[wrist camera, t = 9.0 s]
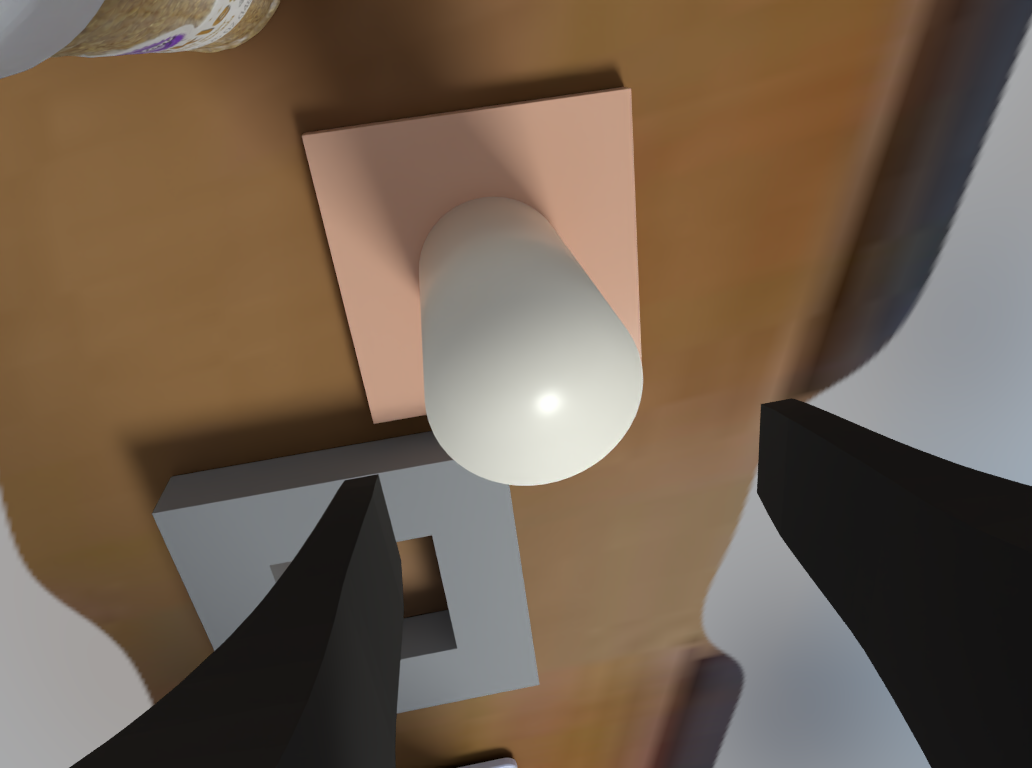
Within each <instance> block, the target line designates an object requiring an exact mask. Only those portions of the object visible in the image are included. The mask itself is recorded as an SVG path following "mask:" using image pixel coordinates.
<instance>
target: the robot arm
mask: <svg viewBox="0 0 1032 768" xmlns="http://www.w3.org/2000/svg"><path fill="white" fill-rule="evenodd" d="M757 493H758V495H759V497H760V499H761V501H762V503H763V505H764V507H765V509H766V511H767V513H768V515H769V516H770V518H771V520H772V522H773V523H774V525H775V527H776V529H777V531H778V532H779V534H780V536H781V537H782V538H783V540H784V542H785V543H786V544H787V546H788V547H789V548H790V550H791V551H792V552H793V554H794V555H795V557H796V558H797V559H798V561H799V562H800V564H801V565H802V566H803V568H804V569H805V570H806V572H807V573H808V574H809V576H810V577H811V578H812V580H813V581H814V582H815V584H816V585H817V586H818V588H819V589H820V590H821V592H822V593H823V594H824V596H825V597H826V598H827V600H828V601H829V602H830V604H831V605H832V606H833V608H834V609H835V610H836V612H837V613H838V614H839V616H840V617H841V618H842V620H843V621H844V622H845V624H846V625H847V626H848V628H849V629H850V630H851V632H852V633H853V635H854V636H855V638H856V639H857V640H858V642H859V643H860V645H861V646H862V648H863V649H864V651H865V652H866V654H867V656H868V657H869V659H870V661H871V662H872V664H873V665H874V667H875V669H876V670H877V672H878V674H879V676H880V677H881V679H882V681H883V682H884V684H885V686H886V687H887V689H888V691H889V692H890V694H891V696H892V698H893V699H894V701H895V703H896V705H897V706H898V708H899V710H900V712H901V713H902V715H903V717H904V719H905V721H906V722H907V724H908V726H909V728H910V729H911V731H912V733H913V735H914V737H915V738H916V740H917V742H918V744H919V745H920V747H921V749H922V751H923V753H924V755H925V756H926V758H927V760H928V762H929V764H930V766H931V768H1032V486H1029V485H1025V484H1021V483H1018V482H1014V481H1011V480H1008V479H1004V478H1001V477H997V476H994V475H991V474H987V473H984V472H980V471H977V470H974V469H971V468H968V467H965V466H962V465H959V464H956V463H953V462H951V461H948V460H945V459H942V458H940V457H937V456H934V455H931V454H929V453H926V452H923V451H920V450H918V449H915V448H912V447H910V446H908V445H905V444H903V443H900V442H898V441H895V440H893V439H890V438H888V437H886V436H883V435H881V434H878V433H876V432H873V431H871V430H869V429H867V428H864V427H862V426H860V425H857V424H855V423H853V422H850V421H848V420H846V419H843V418H841V417H839V416H836V415H834V414H831V413H829V412H827V411H824V410H822V409H820V408H817V407H815V406H812V405H810V404H807V403H804V402H802V401H799V400H796V399H787V400H781V401H776V402H770V403H765V404H761V417H760V439H759V462H758V484H757ZM403 615H404V604H403V584H402V568H401V559H400V555H399V551H398V547H397V543H396V540H395V536H394V532H393V528H392V524H391V520H390V517H389V513H388V509H387V505H386V501H385V498H384V494H383V490H382V486H381V482H380V478H379V475H378V474H376V475H371V476H365V477H360V478H355V479H349V480H345V481H344V482H343V483H342V485H341V486H340V488H339V489H338V491H337V492H336V494H335V496H334V497H333V499H332V501H331V502H330V504H329V505H328V507H327V509H326V510H325V512H324V514H323V515H322V517H321V518H320V520H319V522H318V523H317V525H316V526H315V528H314V529H313V531H312V532H311V534H310V535H309V537H308V538H307V540H306V541H305V543H304V544H303V546H302V547H301V549H300V550H299V552H298V553H297V555H296V556H295V558H294V559H293V560H292V562H291V563H290V565H289V566H288V567H287V569H286V570H285V571H284V573H283V574H282V575H281V577H280V578H279V579H278V580H277V582H276V583H275V584H274V586H273V587H272V588H271V590H270V591H269V592H268V594H267V595H266V596H265V597H264V599H263V600H262V601H261V602H260V603H259V605H258V606H257V607H256V608H255V609H254V610H253V612H252V613H251V614H250V615H249V616H248V617H247V618H246V619H245V620H244V621H243V622H242V624H241V625H240V626H239V627H238V628H237V629H236V630H235V631H234V632H233V633H232V634H231V635H230V636H229V637H228V638H227V639H226V640H225V642H224V643H222V644H221V645H220V646H219V647H218V648H217V649H216V650H215V651H214V652H213V653H212V654H211V655H210V656H209V657H208V658H207V659H205V660H204V661H203V662H202V663H201V664H200V665H199V666H198V667H197V668H196V669H195V670H194V671H193V672H192V673H191V674H190V675H188V676H187V677H186V678H185V679H184V680H183V681H182V682H181V683H180V684H179V685H177V686H176V687H175V688H174V689H173V690H171V691H170V692H169V693H168V694H167V695H166V696H164V697H163V698H162V699H161V700H160V701H158V702H157V703H156V704H155V705H154V706H152V707H151V708H150V709H149V710H147V711H146V712H145V713H144V714H142V715H141V716H140V717H138V718H137V719H136V720H135V721H133V722H132V723H131V724H130V725H128V726H127V727H126V728H124V729H123V730H122V731H120V732H119V733H118V734H116V735H115V736H114V737H112V738H111V739H110V740H108V741H107V742H106V743H104V744H103V745H101V746H100V747H98V748H97V749H95V750H94V751H93V752H91V753H90V754H88V755H87V756H85V757H84V758H83V759H81V760H80V761H78V762H77V763H75V764H74V765H73V766H71V767H70V768H396V764H395V737H396V715H397V701H398V687H399V674H400V660H401V646H402V631H403ZM458 768H517V763H516V761H515V760H514V759H512V758H501V759H496V760H492V761H487V762H482V763H477V764H473V765H468V766H463V767H458Z"/></svg>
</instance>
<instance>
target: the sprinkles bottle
mask: <svg viewBox="0 0 1032 768" xmlns="http://www.w3.org/2000/svg"><path fill="white" fill-rule="evenodd" d="M279 3H280V0H0V79H1V78H4V77H7V76H10V75H14V74H17V73H20V72H23V71H26V70H28V69H30V68H33V67H34V66H36V65H38V64H39V63H41V62H43V61H44V60H46V59H48V58H49V57H61V56H80V57H88V58H90V57H104V56H118V55H127V54H143V53H169V52H179V51H197V52H206V53H211V52H218V51H221V50H225V49H230V48H235V47H237V46H239V45H241V44H243V43H245V42H246V41H248V40H250V39H251V38H252V37H253V36H255V35H256V34H258V33H259V32H260V31H261V30H262V29H263V27H264V26H265V25H266V24H267V23H268V21H269V20H270V18H271V17H272V16H273V14H274V13H275V11H276V9H277V8H278V6H279Z"/></svg>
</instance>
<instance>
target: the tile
mask: <svg viewBox="0 0 1032 768" xmlns="http://www.w3.org/2000/svg"><path fill="white" fill-rule="evenodd" d="M302 139H303V143H304V147H305V151H306V155H307V159H308V163H309V167H310V171H311V175H312V179H313V183H314V187H315V191H316V195H317V199H318V203H319V207H320V211H321V215H322V219H323V223H324V227H325V231H326V235H327V239H328V243H329V247H330V251H331V255H332V259H333V263H334V267H335V271H336V275H337V279H338V283H339V287H340V291H341V295H342V299H343V303H344V307H345V311H346V315H347V319H348V323H349V327H350V331H351V335H352V339H353V343H354V347H355V351H356V355H357V359H358V363H359V367H360V371H361V375H362V379H363V383H364V387H365V391H366V395H367V399H368V403H369V407H370V411H371V415H372V419H373V423H374V424H376V423H382V422H387V421H393V420H399V419H405V418H411V417H416V416H422V415H427V413H426V407H425V396H424V374H423V352H422V331H421V309H420V288H419V260H420V254H421V250H422V247H423V244H424V242H425V240H426V238H427V236H428V234H429V232H430V231H431V229H432V228H433V226H434V225H435V224H436V223H437V222H438V221H439V219H440V218H442V217H443V216H444V215H445V214H446V213H447V212H449V211H450V210H452V209H453V208H455V207H456V206H458V205H460V204H462V203H464V202H467V201H470V200H473V199H477V198H482V197H505V198H510V199H514V200H517V201H520V202H523V203H525V204H527V205H529V206H531V207H532V208H534V209H535V210H537V211H538V212H539V213H541V214H542V215H543V216H544V217H545V218H546V219H547V220H548V222H549V223H550V224H551V225H552V227H553V228H554V229H555V231H556V232H557V233H558V235H559V236H560V238H561V239H562V240H563V242H564V243H565V244H566V246H567V247H568V249H569V250H570V251H571V253H572V254H573V255H574V257H575V258H576V260H577V261H578V262H579V264H580V265H581V267H582V268H583V269H584V271H585V272H586V273H587V275H588V276H589V278H590V279H591V280H592V282H593V283H594V284H595V286H596V287H597V289H598V290H599V291H600V293H601V294H602V296H603V297H604V298H605V300H606V301H607V302H608V304H609V305H610V307H611V308H612V309H613V311H614V312H615V313H616V315H617V316H618V318H619V319H620V320H621V322H622V323H623V325H624V326H625V327H626V329H627V330H628V332H629V333H630V335H631V337H632V338H633V340H634V342H635V344H636V347H637V349H638V352H639V355H640V359H641V334H640V309H639V283H638V257H637V231H636V205H635V179H634V154H633V128H632V102H631V88H628V87H620V88H613V89H606V90H599V91H592V92H585V93H578V94H571V95H564V96H557V97H550V98H543V99H536V100H529V101H522V102H515V103H508V104H501V105H494V106H487V107H481V108H474V109H467V110H460V111H453V112H446V113H439V114H432V115H425V116H418V117H411V118H404V119H397V120H390V121H383V122H376V123H369V124H362V125H355V126H348V127H341V128H334V129H327V130H320V131H313V132H307V133H304V134H303V135H302ZM641 364H642V360H641Z"/></svg>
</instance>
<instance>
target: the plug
mask: <svg viewBox="0 0 1032 768" xmlns="http://www.w3.org/2000/svg"><path fill="white" fill-rule="evenodd" d="M419 288H420V309H421V331H422V352H423V374H424V396H425V407H426V413H427V417H428V421H429V424H430V427H431V429H432V431H433V434H434V436H435V437H436V439H437V440H438V442H439V444H440V445H441V447H442V448H443V449H444V450H445V451H446V453H447V454H448V455H449V456H450V457H451V458H452V459H453V460H454V461H456V462H457V463H458V464H459V465H461V466H462V467H464V468H465V469H466V470H468V471H470V472H472V473H474V474H476V475H478V476H479V477H482V478H485V479H488V480H490V481H494V482H498V483H502V484H509V485H517V486H532V485H541V484H547V483H552V482H557V481H560V480H563V479H566V478H569V477H571V476H574V475H576V474H578V473H580V472H582V471H584V470H586V469H588V468H589V467H591V466H593V465H594V464H596V463H597V462H598V461H600V460H601V459H602V458H604V457H605V456H606V455H607V454H608V453H609V452H610V451H611V450H612V449H613V448H614V447H615V446H616V445H617V444H618V443H619V441H620V440H621V439H622V438H623V436H624V435H625V433H626V432H627V430H628V429H629V427H630V426H631V424H632V422H633V420H634V418H635V416H636V413H637V410H638V407H639V404H640V400H641V395H642V388H643V372H642V364H641V359H640V355H639V352H638V349H637V347H636V344H635V342H634V340H633V338H632V337H631V335H630V333H629V332H628V330H627V329H626V327H625V326H624V325H623V323H622V322H621V320H620V319H619V318H618V316H617V315H616V313H615V312H614V311H613V309H612V308H611V307H610V305H609V304H608V302H607V301H606V300H605V298H604V297H603V296H602V294H601V293H600V291H599V290H598V289H597V287H596V286H595V284H594V283H593V282H592V280H591V279H590V278H589V276H588V275H587V273H586V272H585V271H584V269H583V268H582V267H581V265H580V264H579V262H578V261H577V260H576V258H575V257H574V255H573V254H572V253H571V251H570V250H569V249H568V247H567V246H566V244H565V243H564V242H563V240H562V239H561V238H560V236H559V235H558V233H557V232H556V231H555V229H554V228H553V227H552V225H551V224H550V223H549V222H548V220H547V219H546V218H545V217H544V216H543V215H542V214H541V213H539V212H538V211H537V210H535V209H534V208H532V207H531V206H529V205H527V204H525V203H523V202H520V201H517V200H514V199H510V198H505V197H482V198H477V199H473V200H470V201H467V202H464V203H462V204H460V205H458V206H456V207H455V208H453V209H452V210H450V211H449V212H447V213H446V214H445V215H444V216H443V217H442V218H440V219H439V221H438V222H437V223H436V224H435V225H434V226H433V228H432V229H431V231H430V232H429V234H428V236H427V238H426V240H425V242H424V244H423V247H422V250H421V254H420V260H419Z"/></svg>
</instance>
